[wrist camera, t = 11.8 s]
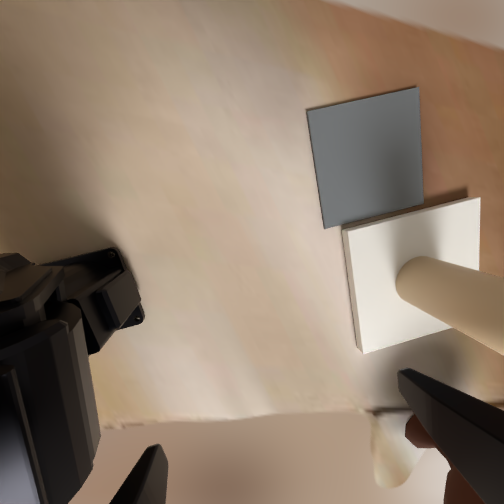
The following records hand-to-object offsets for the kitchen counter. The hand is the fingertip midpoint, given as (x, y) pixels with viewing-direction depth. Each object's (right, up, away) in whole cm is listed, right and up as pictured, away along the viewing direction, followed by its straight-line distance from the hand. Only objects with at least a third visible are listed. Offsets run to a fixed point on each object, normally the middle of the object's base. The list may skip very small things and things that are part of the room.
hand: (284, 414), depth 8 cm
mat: (+8, +13, +10) cm, 19 cm away
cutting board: (+14, +4, +13) cm, 19 cm away
